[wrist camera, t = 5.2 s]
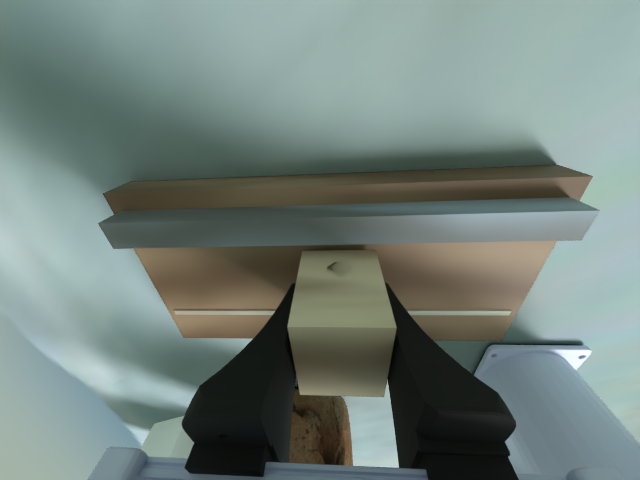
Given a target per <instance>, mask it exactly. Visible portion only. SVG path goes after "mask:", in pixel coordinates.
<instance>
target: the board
mask: <svg viewBox="0 0 640 480" xmlns="http://www.w3.org/2000/svg"><path fill="white" fill-rule="evenodd" d="M592 177H593V176H590V175H587V174H584V173H581V172H578V171H575V170H572V169H569V168H566V167H563V166H560V165H544V166H518V167H493V168H467V169H441V170H416V171H390V172H364V173H339V174H313V175H287V176H262V177H236V178H210V179H185V180H159V181H133V182H128V183H126V184H124V185H122V186H119V187H117V188H115V189H112V190H110V191H108V192H106V193H103V195H104V197H105V198H106V200H107V202H108V204H109V206H110V207H111V209H112V211H113V213H114V215H113V216H111V217H109V218H107V219H105V220H104V221H102V222H100V223H98V224H99V226H100V228H101V229H102V231H103V232H104V234H105V236H106V237H107V239H108V241H109V242H110V244H111V245H112V247H113V249H126V248H134V250H135V252H136V254H137V256H138V257H139V259H140V261H141V263H142V264H143V266H144V268H145V270H146V272H147V273H148V275H149V277H150V279H151V281H152V282H153V284H154V286H155V288H156V289H157V291H158V293H159V295H160V297H161V298H162V300H163V302H164V304H165V306H166V307H167V309H168V311H169V313H170V314H171V316H172V318H173V320H174V322H175V323H176V325H177V327H178V329H179V330H180V332H181V334H182V336H183V338H254V337H255V336H256V335H257V334H258V333H259V332H260V330H261V329H262V328H263V327H264V325H265V324H266V323H267V322H268V320H269V319H270V317H271V316H272V315H273V313H274V312H275V311H276V309H277V307H278V306H279V304H280V303H281V301H282V300H283V298H284V296H285V295H286V293H287V291H288V289H289V288H290V286H291V284H292V283H296V280H297V275H298V270H299V265H300V260H301V255H302V251H332V250H376V252H377V256H378V260H379V264H380V267H381V271H382V275H383V279H384V282H385V283H388V284H389V286H390V287H391V289H392V291H393V292H394V294H395V295H396V297H397V298H398V299H399V301H400V302H401V304H402V305H403V306H404V308H405V309H406V310H407V312H408V313H409V314H410V315H411V317H412V318H413V319H414V320H415V321H416V323H417V324H418V325H419V326H420V327H421V328H422V329H423V331H424V332H425V333H426V334H427V335H428V336H429V337H430V338H431V339H432V340H466V341H502V339H503V337H504V336H505V334H506V332H507V330H508V328H509V327H510V325H511V323H512V321H513V319H514V318H515V316H516V314H517V312H518V310H519V309H520V307H521V305H522V303H523V301H524V300H525V298H526V296H527V294H528V292H529V291H530V289H531V287H532V285H533V283H534V282H535V280H536V278H537V276H538V274H539V273H540V271H541V269H542V267H543V265H544V264H545V262H546V260H547V258H548V256H549V255H550V253H551V251H552V249H553V247H554V246H555V244H556V242H557V241H570V240H582V239H583V237H584V235H585V234H586V232H587V231H588V229H589V227H590V226H591V224H592V223H593V221H594V219H595V218H596V216H597V214H598V213H599V211H600V210H598V209H595V208H593V207H591V206H589V205H586V204H584V203H582V202H580V199H581V197H582V195H583V193H584V191H585V190H586V188H587V186H588V184H589V182H590V181H591V179H592Z"/></svg>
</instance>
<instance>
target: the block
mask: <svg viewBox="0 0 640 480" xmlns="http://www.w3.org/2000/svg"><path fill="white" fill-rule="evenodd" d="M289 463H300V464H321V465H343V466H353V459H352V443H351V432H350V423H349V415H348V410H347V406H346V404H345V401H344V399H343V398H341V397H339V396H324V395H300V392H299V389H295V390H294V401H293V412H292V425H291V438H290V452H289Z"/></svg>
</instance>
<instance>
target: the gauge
mask: <svg viewBox="0 0 640 480" xmlns="http://www.w3.org/2000/svg"><path fill="white" fill-rule="evenodd" d="M287 328H288V333H289V339H290V344H291V349H292V355H293V360H294V365H295V370H296V376H297V381H298V386H299V392H300V395H324V396H362V397H384V395H385V389H386V384H387V378H388V373H389V367H390V362H391V356H392V351H393V345H394V340H395V334H396V329H397V327H396V323H395V320H394V316H393V312H392V308H391V305H390V301H389V297H388V294H387V290H386V286H385V282H384V279H383V275H382V271H381V267H380V264H379V260H378V256H377V252H376V250H332V251H302V255H301V260H300V265H299V270H298V275H297V280H296V285H295V290H294V296H293V301H292V306H291V311H290V316H289V321H288V326H287Z"/></svg>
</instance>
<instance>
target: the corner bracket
mask: <svg viewBox="0 0 640 480" xmlns="http://www.w3.org/2000/svg"><path fill="white" fill-rule="evenodd" d="M183 418H184V416H181V417H177V418H173V419H169V420H166V421H162V422H158V423H154V425H153V427H152V429H151V431H150V432H149V434H148V436H147V438H146V440H145V442H144V443H143V445H142V447H141V450H143V451H144V452H145V453H146V454H147V456H149V457H171V458H188V457H189V454H190V452H191V449H192V447H193V444H194V442H193V441H192V440H191V438H190V437H189V436H188V435H187V434H186V432H185V431H184V429H183V428H182V420H183Z"/></svg>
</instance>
